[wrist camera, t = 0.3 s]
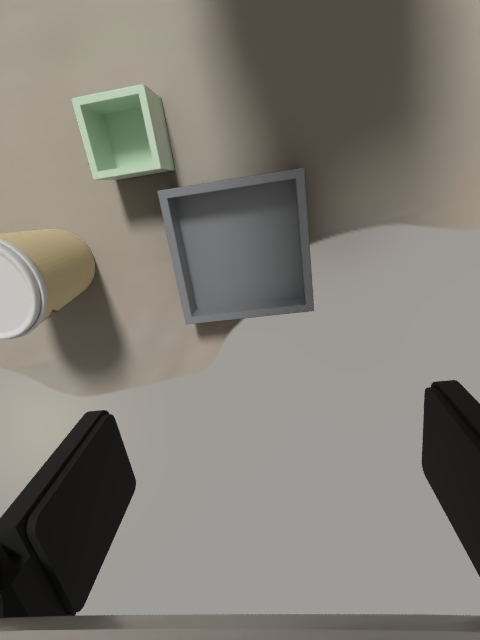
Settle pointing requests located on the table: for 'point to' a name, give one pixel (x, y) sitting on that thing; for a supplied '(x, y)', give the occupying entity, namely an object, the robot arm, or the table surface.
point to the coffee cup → (40, 277)
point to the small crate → (124, 133)
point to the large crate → (240, 246)
